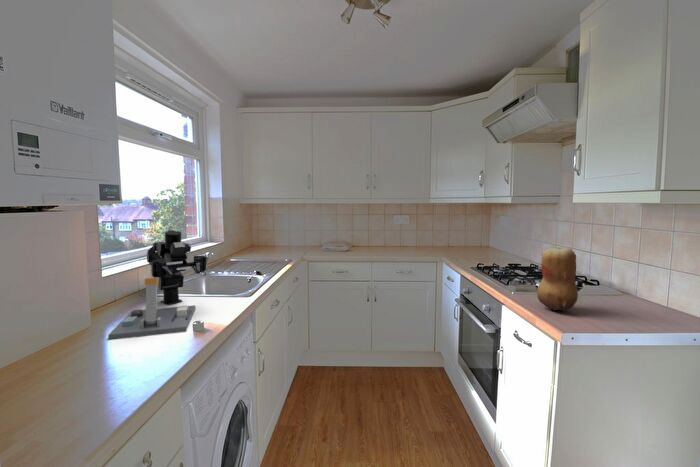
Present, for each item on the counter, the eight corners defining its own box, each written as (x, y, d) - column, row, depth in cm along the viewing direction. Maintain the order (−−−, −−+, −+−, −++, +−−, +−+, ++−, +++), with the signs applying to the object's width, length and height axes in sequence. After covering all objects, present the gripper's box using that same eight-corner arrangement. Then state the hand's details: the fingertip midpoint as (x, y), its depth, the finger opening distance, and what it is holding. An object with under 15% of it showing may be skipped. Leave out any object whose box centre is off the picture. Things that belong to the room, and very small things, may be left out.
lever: (145, 325, 112) (146, 279, 114) (158, 324, 113) (158, 278, 116) (143, 326, 110) (144, 278, 113) (157, 325, 111) (157, 277, 114)
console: (132, 314, 128) (131, 304, 127) (195, 308, 134) (195, 299, 134) (108, 339, 105) (107, 327, 105) (186, 331, 112) (185, 319, 111)
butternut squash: (529, 305, 139) (533, 245, 137) (562, 304, 139) (565, 244, 137) (550, 316, 125) (554, 250, 123) (586, 316, 126) (590, 249, 123)
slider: (177, 315, 123) (177, 308, 122) (187, 314, 123) (186, 307, 123) (176, 317, 121) (176, 310, 120) (186, 316, 122) (185, 309, 121)
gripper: (147, 241, 126) (156, 256, 115) (200, 238, 138) (213, 250, 127) (148, 269, 129) (157, 286, 118) (199, 263, 141) (212, 278, 130)
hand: (185, 274), depth 123 cm, fingers open, 9 cm apart
